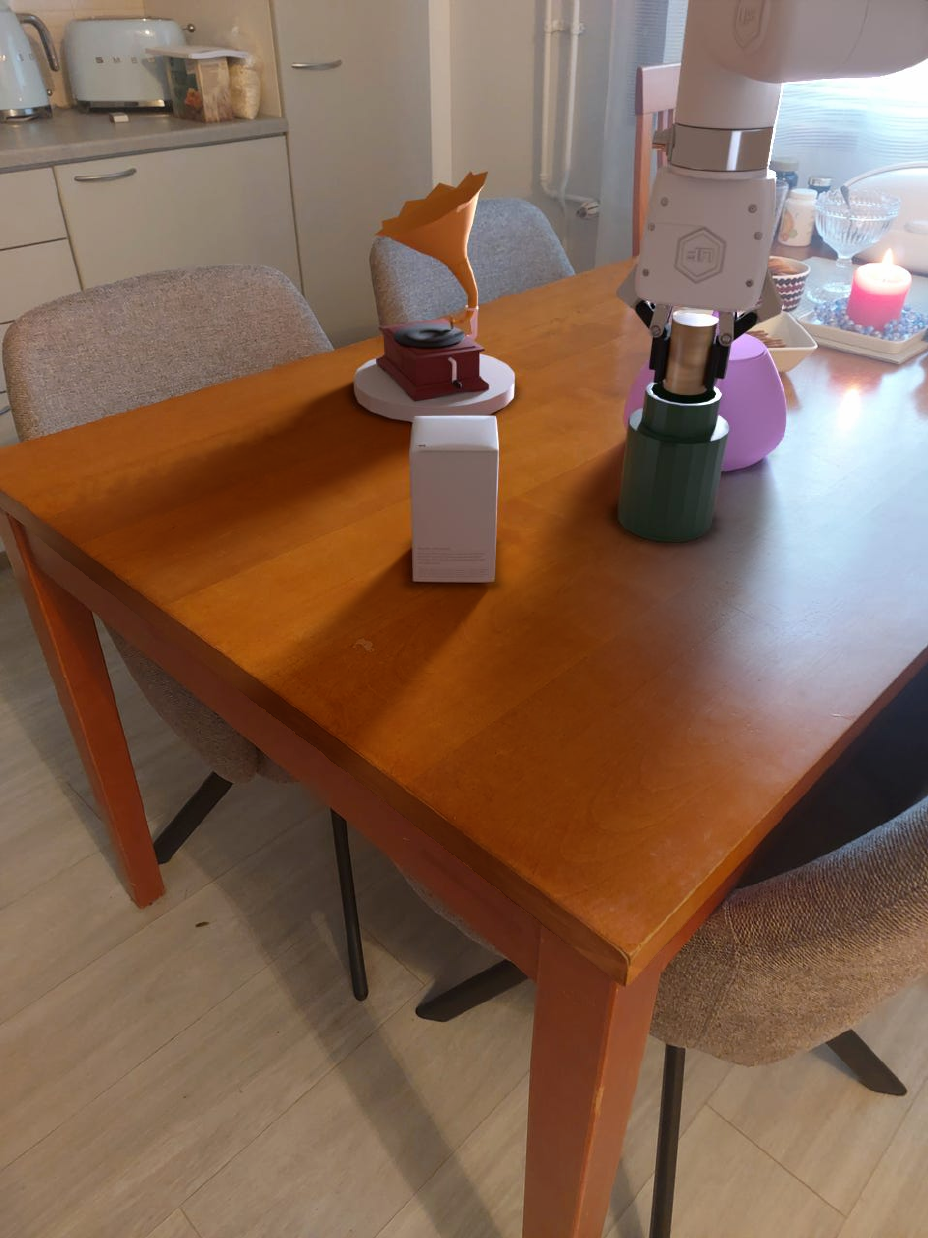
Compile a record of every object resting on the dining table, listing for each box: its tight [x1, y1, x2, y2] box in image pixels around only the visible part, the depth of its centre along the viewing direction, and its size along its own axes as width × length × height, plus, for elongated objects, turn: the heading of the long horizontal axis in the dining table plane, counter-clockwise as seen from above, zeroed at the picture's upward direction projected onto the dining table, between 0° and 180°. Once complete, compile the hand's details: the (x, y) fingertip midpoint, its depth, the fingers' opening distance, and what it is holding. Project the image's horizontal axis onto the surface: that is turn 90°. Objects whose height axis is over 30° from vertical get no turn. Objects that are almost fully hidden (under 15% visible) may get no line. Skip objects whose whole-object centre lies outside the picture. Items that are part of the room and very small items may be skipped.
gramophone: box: [352, 170, 516, 423], centre depth 107 cm, size 20×20×25 cm
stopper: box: [663, 312, 718, 395], centre depth 78 cm, size 4×4×6 cm
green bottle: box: [617, 380, 730, 543], centre depth 83 cm, size 9×9×13 cm
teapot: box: [622, 310, 788, 472], centre depth 98 cm, size 25×18×14 cm
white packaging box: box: [408, 415, 500, 584], centre depth 77 cm, size 7×7×13 cm
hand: (685, 379), depth 79 cm, fingers closed on stopper, 3 cm apart
